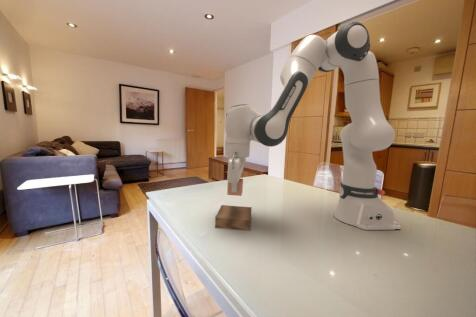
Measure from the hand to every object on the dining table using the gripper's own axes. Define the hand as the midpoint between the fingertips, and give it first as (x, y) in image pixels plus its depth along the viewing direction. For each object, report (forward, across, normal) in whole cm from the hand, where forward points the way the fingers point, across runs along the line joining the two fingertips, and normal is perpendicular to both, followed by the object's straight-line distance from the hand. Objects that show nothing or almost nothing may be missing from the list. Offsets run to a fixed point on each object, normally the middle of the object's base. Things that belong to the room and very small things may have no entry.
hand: (235, 189), depth 75 cm
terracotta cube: (+2, 0, 0) cm, 2 cm away
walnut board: (+13, 0, 0) cm, 13 cm away
